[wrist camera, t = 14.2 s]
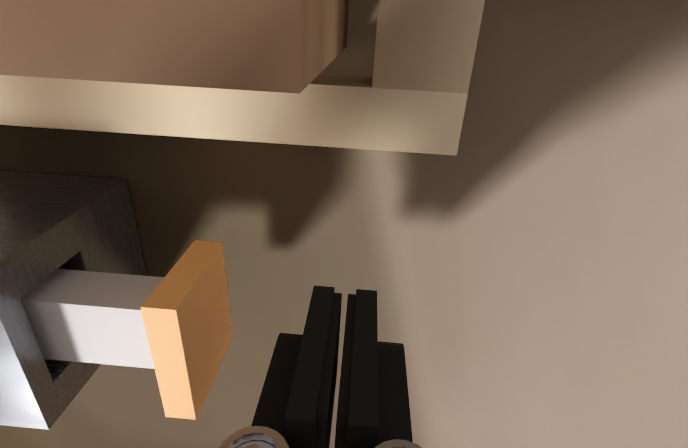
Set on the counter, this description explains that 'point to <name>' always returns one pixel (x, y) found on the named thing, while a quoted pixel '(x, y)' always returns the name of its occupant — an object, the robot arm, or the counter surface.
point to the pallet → (292, 108)
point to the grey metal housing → (43, 259)
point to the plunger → (142, 322)
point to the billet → (174, 41)
